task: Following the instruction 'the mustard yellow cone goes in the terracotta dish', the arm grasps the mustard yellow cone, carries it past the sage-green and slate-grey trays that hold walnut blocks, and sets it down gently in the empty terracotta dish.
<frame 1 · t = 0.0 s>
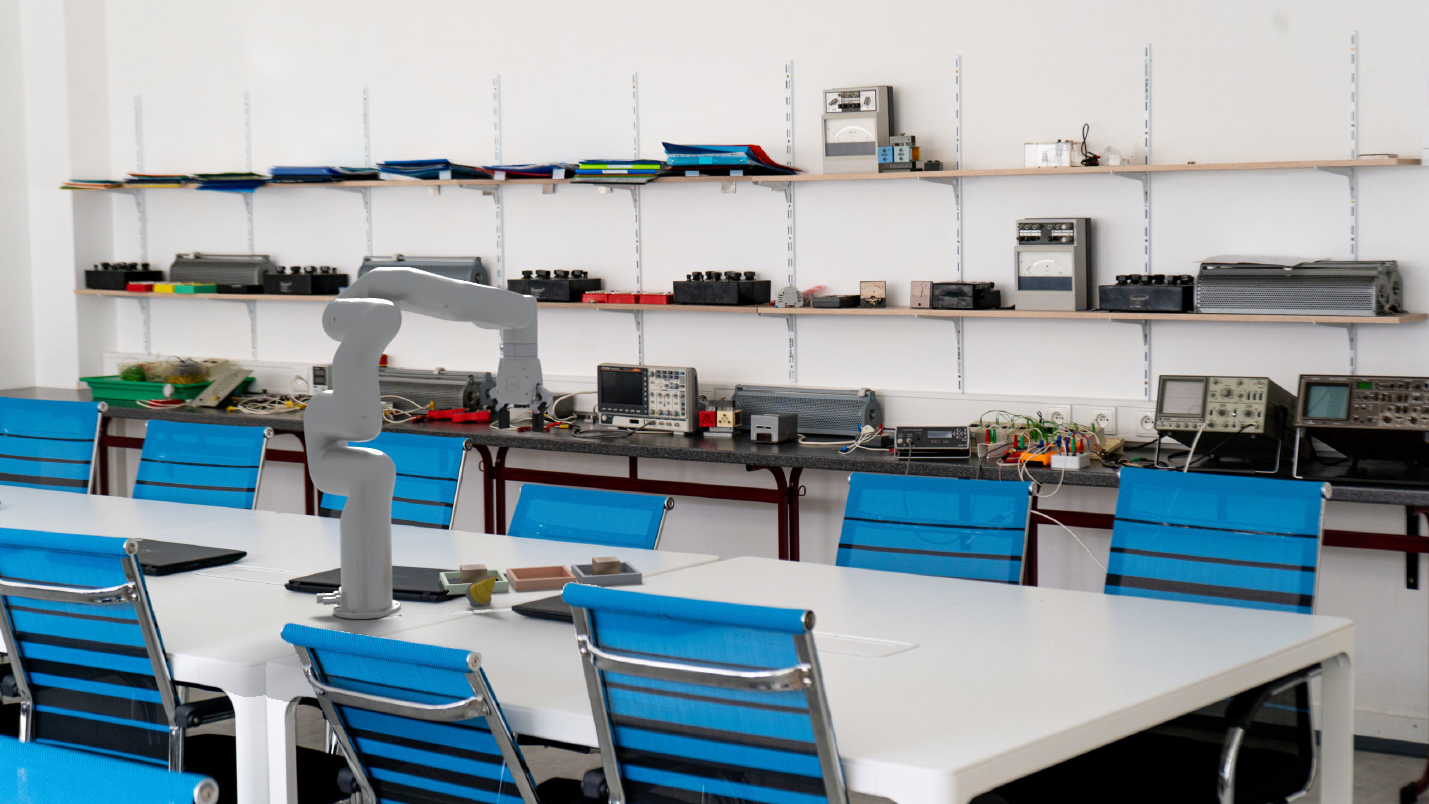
hand: (520, 430, 289), 31 cm above the table, fingers open, 9 cm apart
terracotta dish: (540, 584, 278), on the table
sage tray: (473, 588, 273), on the table
walnut block b: (606, 577, 282), point 1 cm above the table, touching grey tray
walnut block a: (473, 586, 273), point 1 cm above the table, touching sage tray
mustard yellow cone: (483, 607, 258), on the table
grey tray: (606, 580, 282), on the table
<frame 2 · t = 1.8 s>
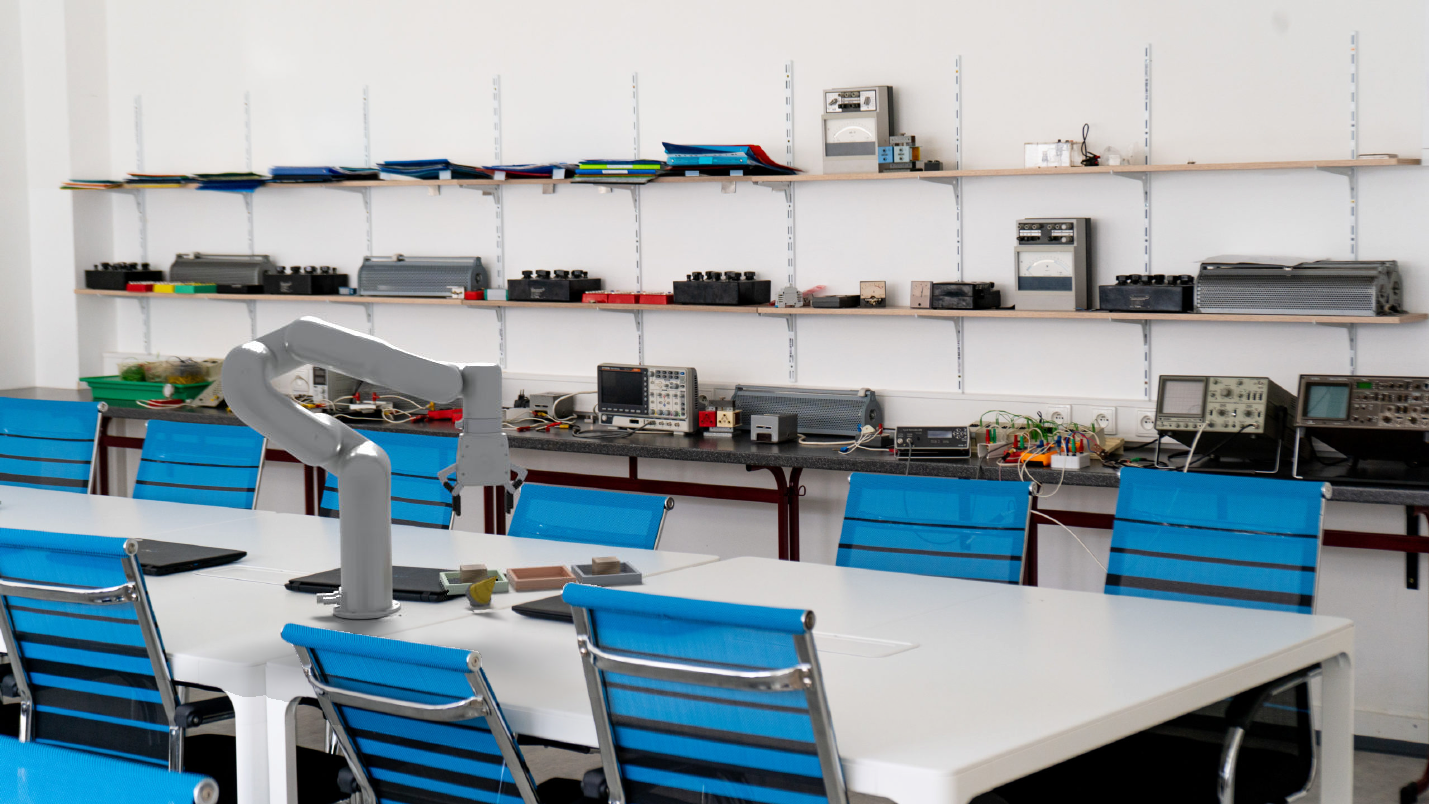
hand: (483, 514, 257), 18 cm above the table, fingers open, 9 cm apart
nothing on the table moved.
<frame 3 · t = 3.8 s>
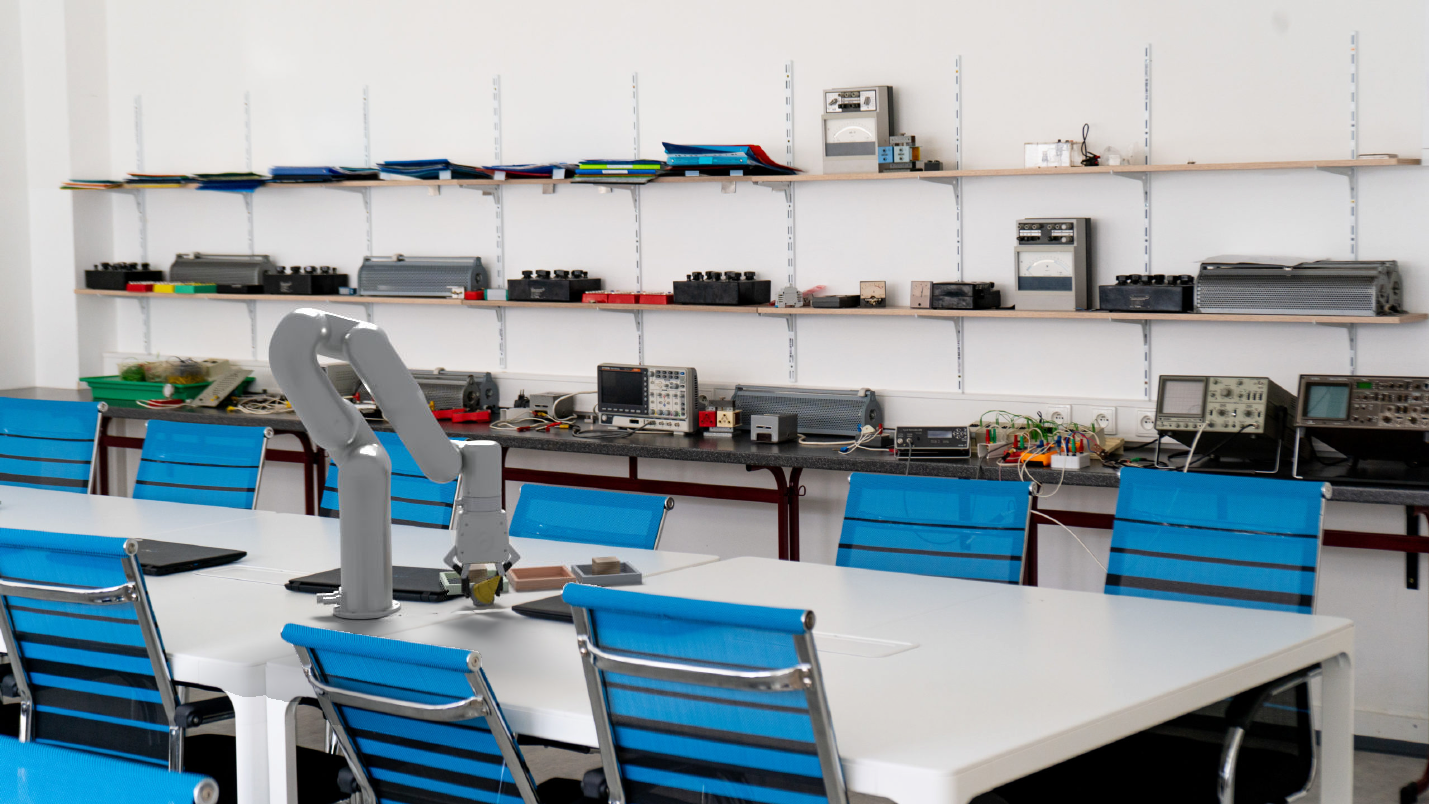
hand: (482, 595, 258), 2 cm above the table, fingers closed on mustard yellow cone, 5 cm apart
mustard yellow cone: (487, 607, 258), on the table, touching gripper
everything else where it was.
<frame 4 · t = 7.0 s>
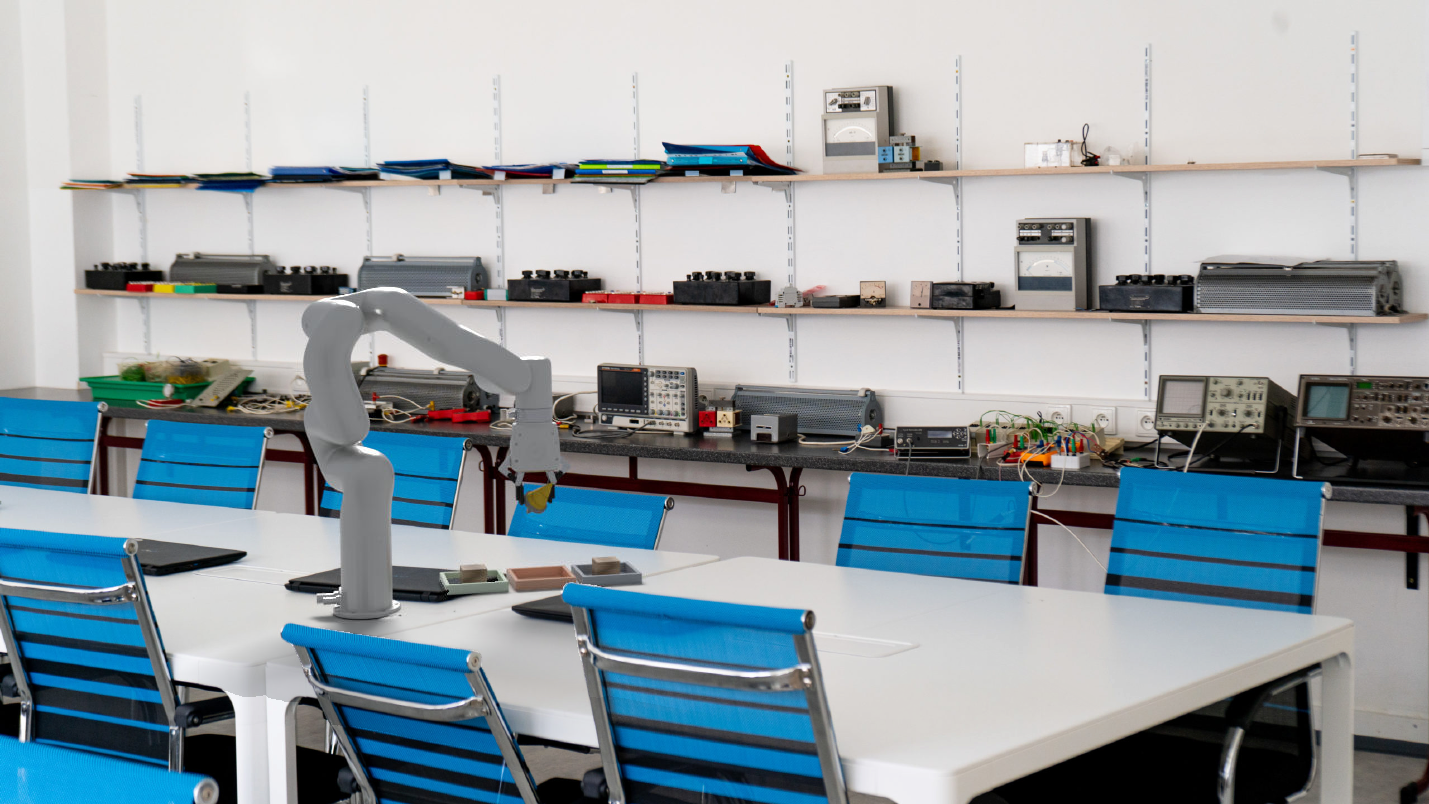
hand: (535, 502, 274), 18 cm above the table, fingers closed on mustard yellow cone, 5 cm apart
mustard yellow cone: (540, 514, 274), point 15 cm above the table, touching gripper
everything else where it was.
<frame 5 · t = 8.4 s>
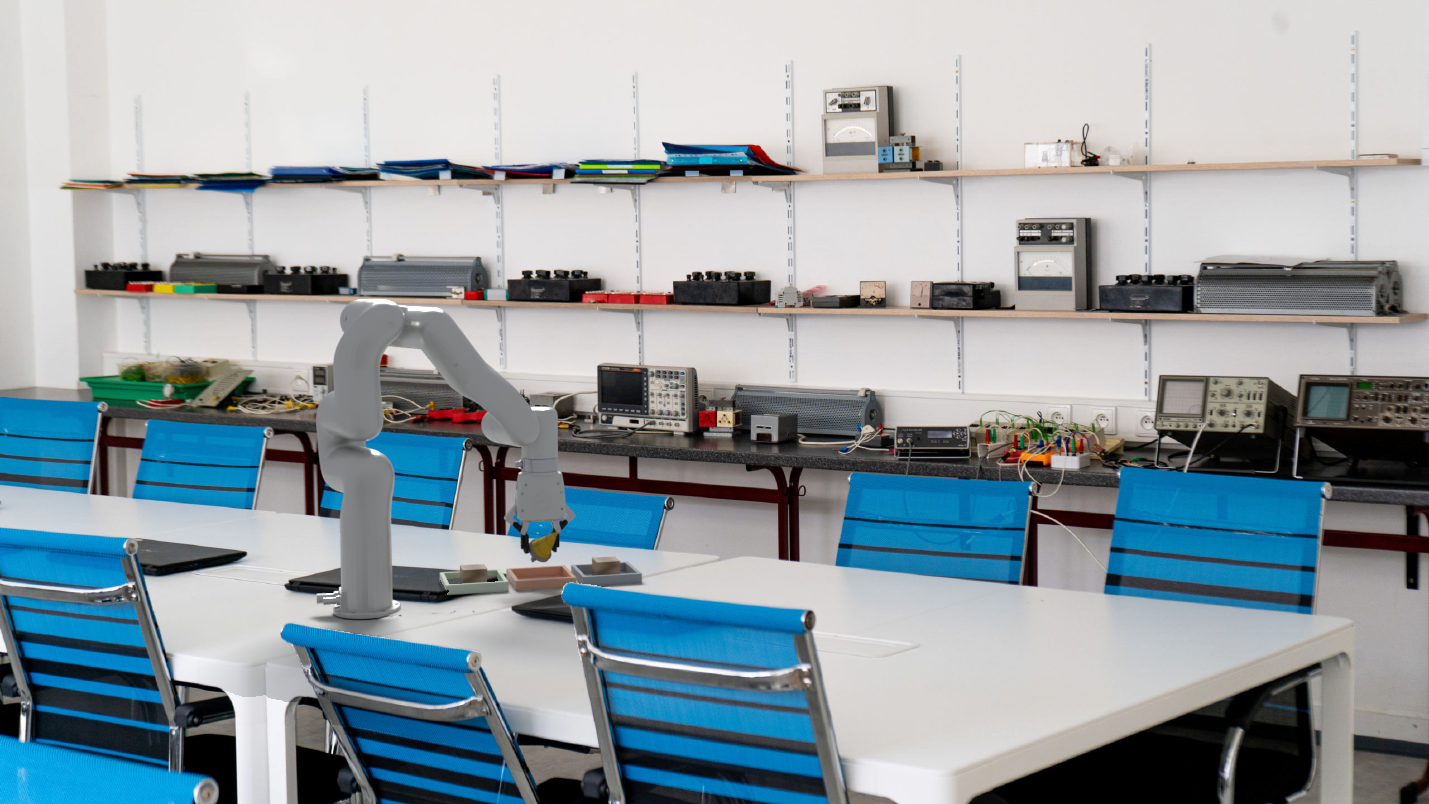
hand: (540, 550, 277), 7 cm above the table, fingers closed on mustard yellow cone, 5 cm apart
mustard yellow cone: (544, 562, 277), point 5 cm above the table, touching gripper
everything else where it was.
when the fingers open (3 cm above the table, at t = 9.9 s): mustard yellow cone stays where it is, resting on terracotta dish.
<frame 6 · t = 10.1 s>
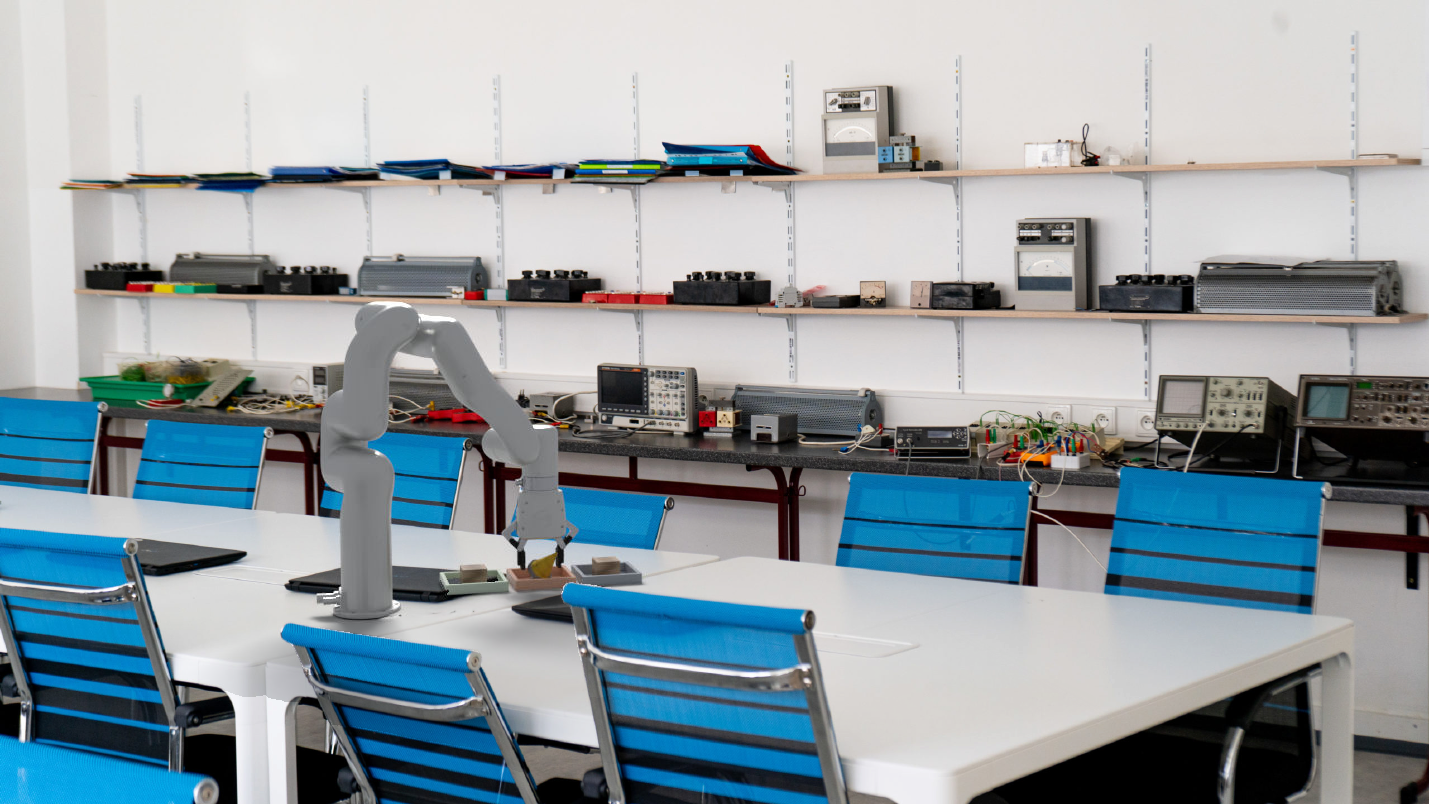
hand: (540, 567, 277), 4 cm above the table, fingers open, 7 cm apart
mustard yellow cone: (544, 582, 278), resting on terracotta dish
everything else where it was.
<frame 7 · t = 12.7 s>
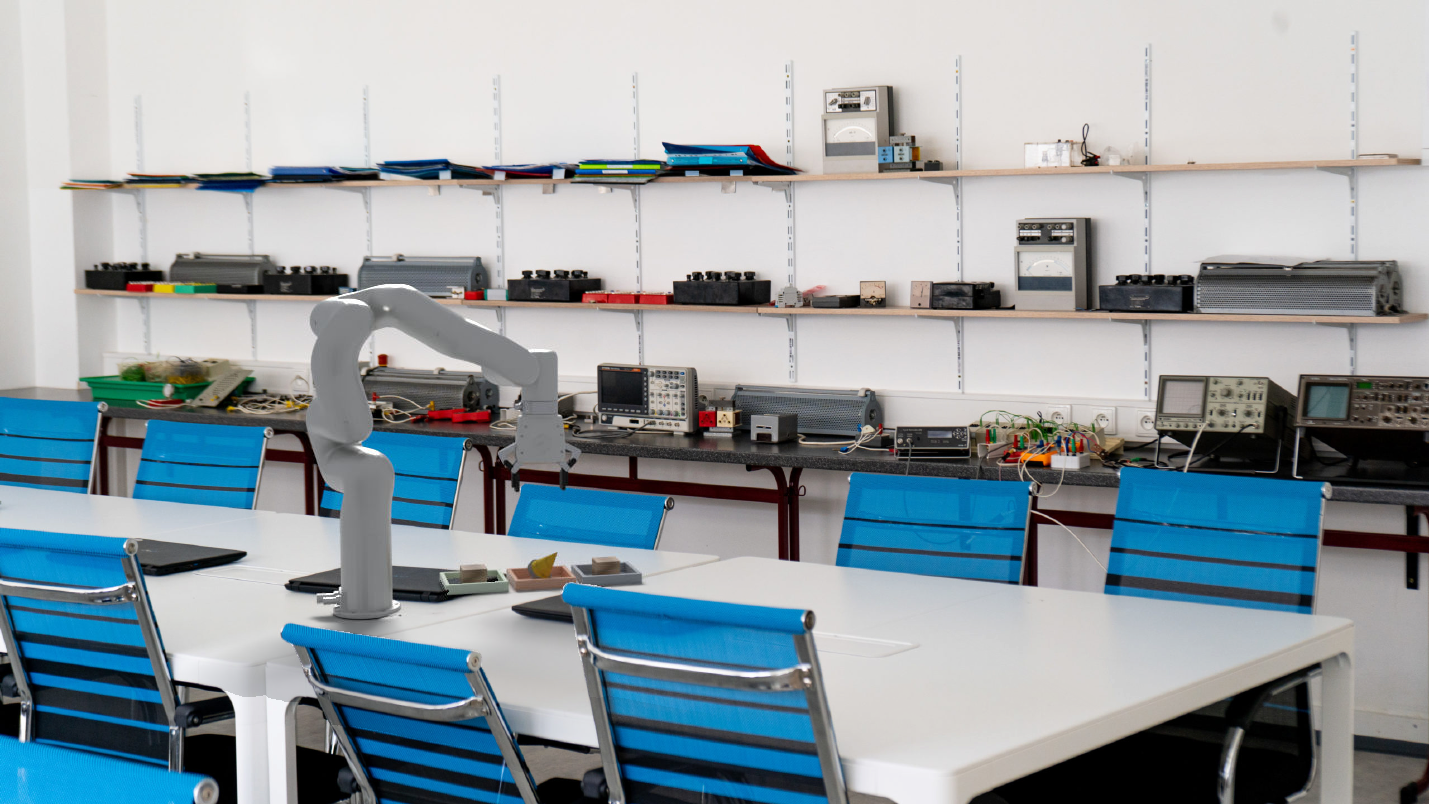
hand: (539, 490, 276), 20 cm above the table, fingers open, 9 cm apart
nothing on the table moved.
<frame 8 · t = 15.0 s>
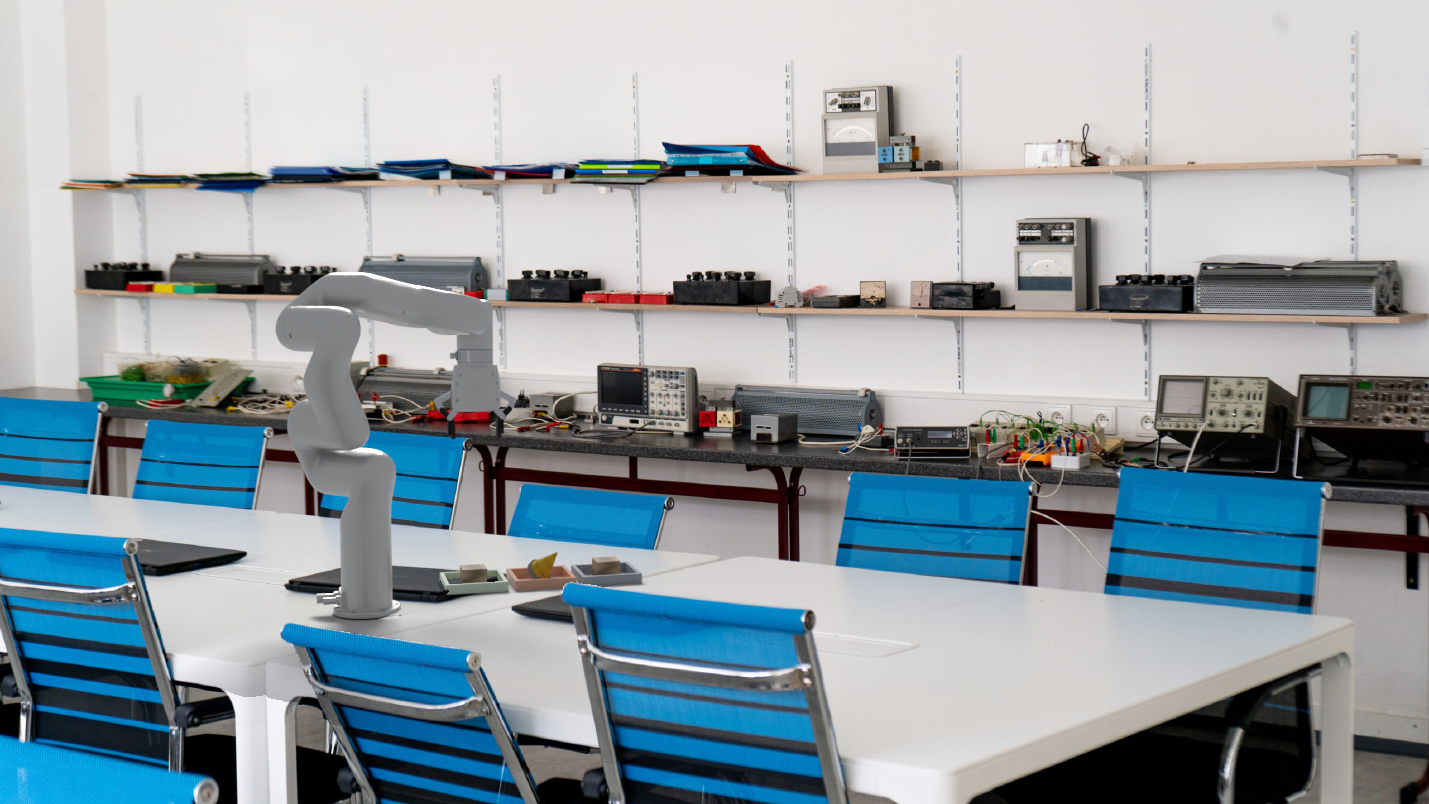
hand: (475, 438, 281), 30 cm above the table, fingers open, 9 cm apart
nothing on the table moved.
at the end: mustard yellow cone inside the target area on the terracotta dish (0.7 cm from its centre), point 0.4 cm above the terracotta dish's base; the gripper is holding nothing; walnut block a moved 0.0 cm from its start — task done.
